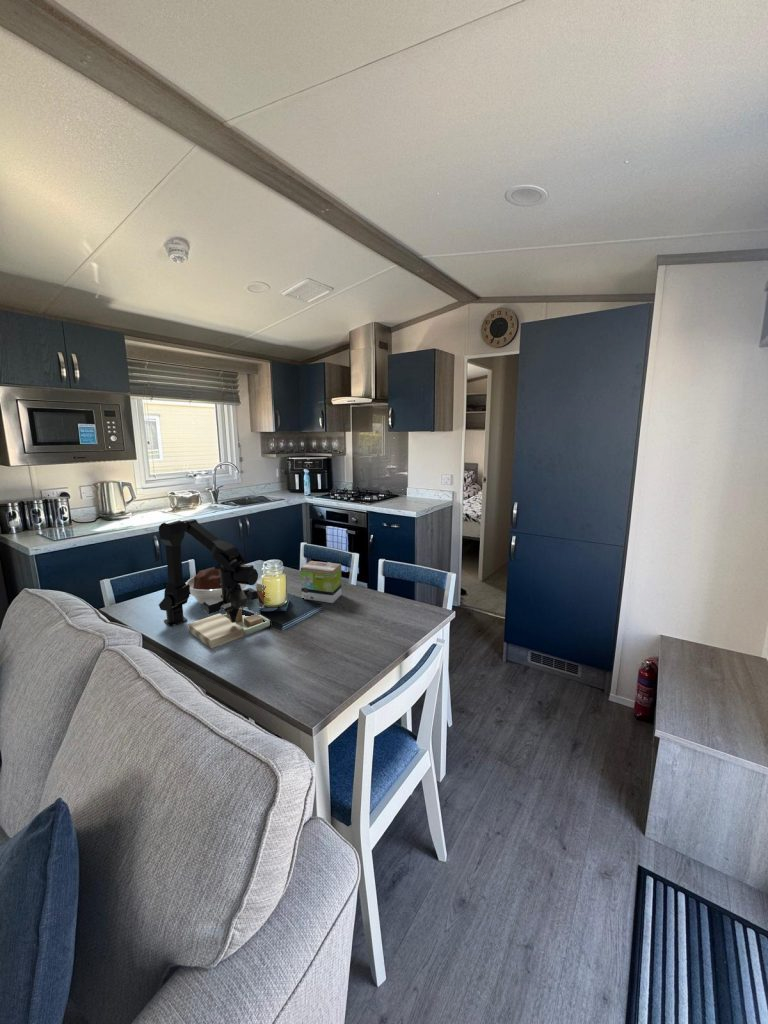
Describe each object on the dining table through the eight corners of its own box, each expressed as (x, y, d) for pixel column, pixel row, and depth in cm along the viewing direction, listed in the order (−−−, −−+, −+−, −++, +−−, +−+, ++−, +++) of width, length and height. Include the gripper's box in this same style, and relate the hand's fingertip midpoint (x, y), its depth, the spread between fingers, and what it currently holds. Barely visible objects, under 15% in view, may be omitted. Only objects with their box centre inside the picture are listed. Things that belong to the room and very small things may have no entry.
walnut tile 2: (255, 613, 164) (255, 619, 164) (243, 618, 160) (244, 624, 161) (262, 617, 160) (263, 624, 161) (250, 622, 157) (251, 628, 157)
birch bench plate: (188, 631, 156) (188, 623, 156) (220, 620, 165) (219, 613, 164) (211, 648, 144) (210, 640, 143) (244, 635, 153) (243, 628, 152)
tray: (220, 620, 165) (220, 615, 164) (246, 611, 173) (246, 606, 172) (244, 635, 153) (244, 630, 152) (271, 625, 160) (270, 620, 160)
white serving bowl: (220, 585, 200) (217, 555, 197) (262, 594, 190) (259, 562, 186) (174, 606, 178) (170, 571, 175) (218, 617, 167) (214, 581, 164)
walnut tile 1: (228, 606, 164) (234, 604, 166) (229, 618, 165) (235, 616, 167) (235, 610, 161) (241, 608, 163) (236, 622, 162) (242, 620, 164)
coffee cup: (252, 610, 174) (250, 582, 171) (268, 602, 182) (266, 575, 179) (269, 614, 169) (268, 586, 167) (285, 606, 178) (284, 578, 175)
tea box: (301, 599, 184) (299, 567, 181) (311, 591, 193) (310, 560, 190) (333, 603, 180) (332, 570, 177) (342, 594, 189) (341, 563, 186)
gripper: (214, 595, 139) (218, 639, 142) (265, 580, 152) (267, 620, 155) (199, 586, 146) (203, 628, 150) (249, 572, 160) (252, 611, 163)
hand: (233, 622), depth 154 cm, fingers closed
